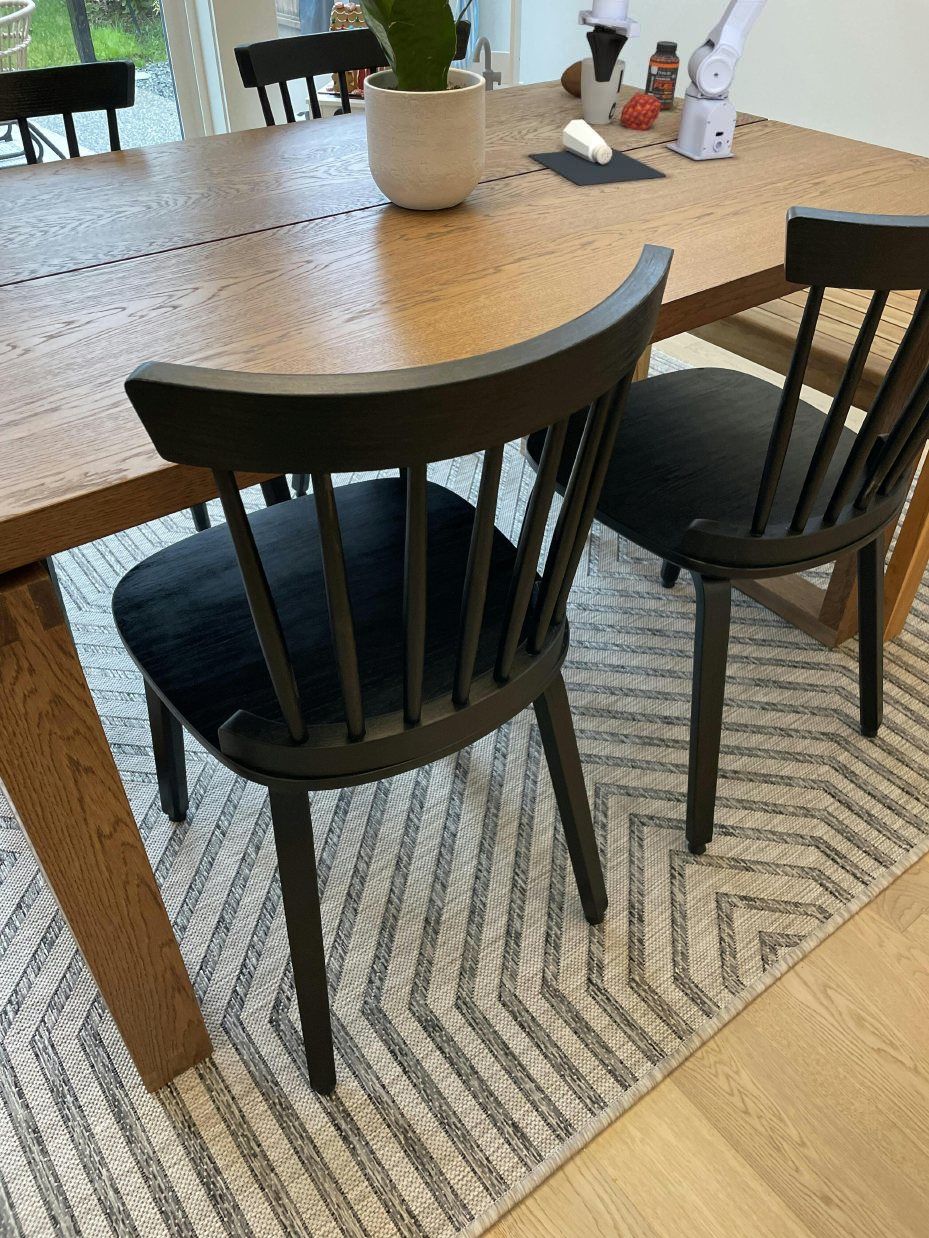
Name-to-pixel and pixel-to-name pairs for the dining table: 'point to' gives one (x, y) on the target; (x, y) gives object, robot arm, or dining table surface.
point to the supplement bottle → (663, 73)
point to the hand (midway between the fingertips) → (602, 81)
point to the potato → (572, 79)
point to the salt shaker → (585, 142)
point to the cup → (600, 92)
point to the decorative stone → (640, 111)
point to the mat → (596, 168)
